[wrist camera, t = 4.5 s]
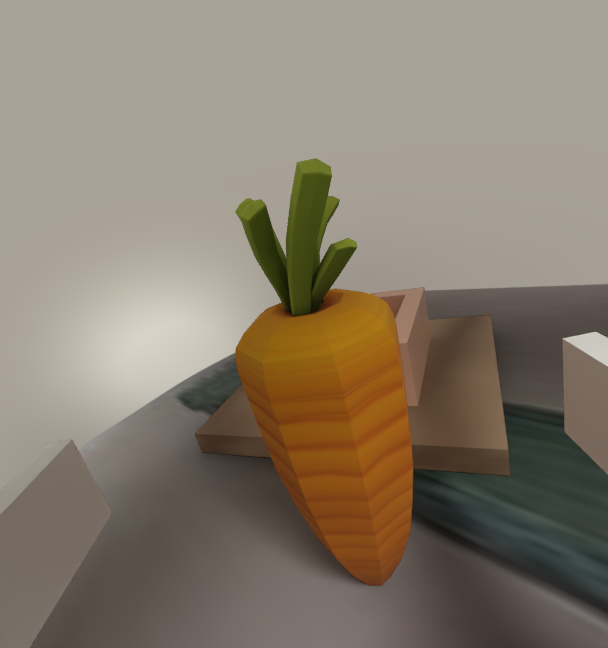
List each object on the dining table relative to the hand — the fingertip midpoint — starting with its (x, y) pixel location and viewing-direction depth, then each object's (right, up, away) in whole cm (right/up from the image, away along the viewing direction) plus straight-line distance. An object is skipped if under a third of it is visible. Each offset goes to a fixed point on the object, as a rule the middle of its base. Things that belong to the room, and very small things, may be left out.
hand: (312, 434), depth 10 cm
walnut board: (+4, -2, +18) cm, 18 cm away
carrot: (+3, -7, +5) cm, 9 cm away
